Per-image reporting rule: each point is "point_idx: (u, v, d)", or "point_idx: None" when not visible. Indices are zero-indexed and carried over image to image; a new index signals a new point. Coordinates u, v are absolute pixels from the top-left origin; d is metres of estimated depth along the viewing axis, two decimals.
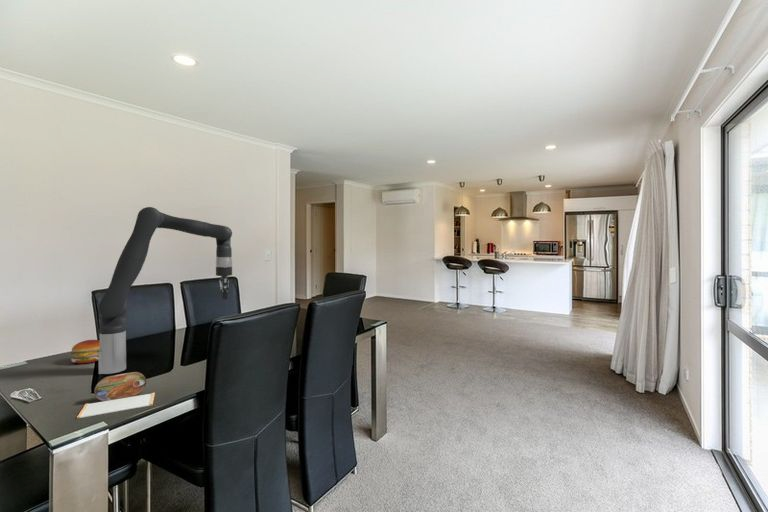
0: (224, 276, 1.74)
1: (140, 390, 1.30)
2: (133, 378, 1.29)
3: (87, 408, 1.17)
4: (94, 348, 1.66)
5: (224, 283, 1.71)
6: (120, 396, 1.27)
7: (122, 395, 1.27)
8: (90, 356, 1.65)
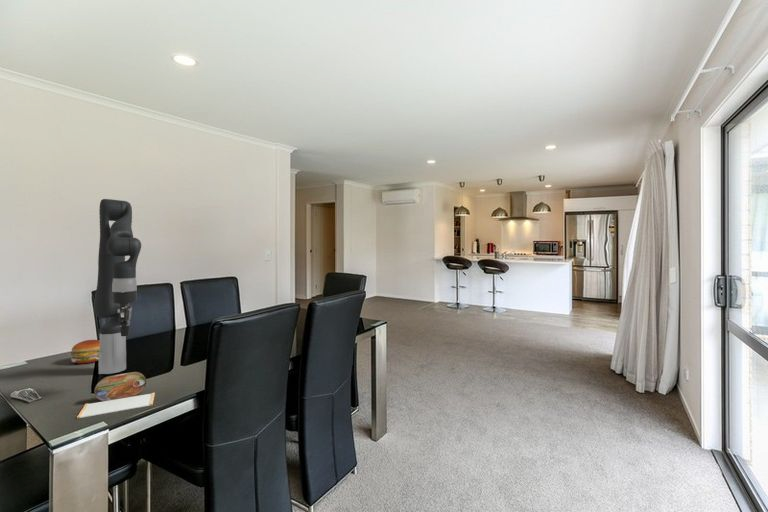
0: (122, 304, 1.30)
1: (140, 390, 1.30)
2: (133, 378, 1.29)
3: (87, 408, 1.17)
4: (94, 348, 1.66)
5: (121, 318, 1.29)
6: (120, 396, 1.27)
7: (122, 395, 1.27)
8: (90, 356, 1.65)
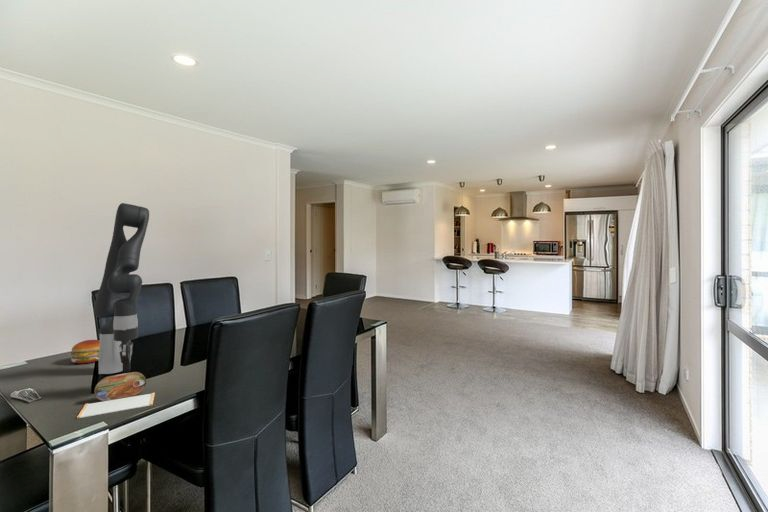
0: (124, 342, 1.31)
1: (140, 390, 1.30)
2: (133, 378, 1.29)
3: (87, 408, 1.17)
4: (94, 348, 1.66)
5: (122, 357, 1.30)
6: (120, 396, 1.27)
7: (122, 395, 1.27)
8: (90, 356, 1.65)
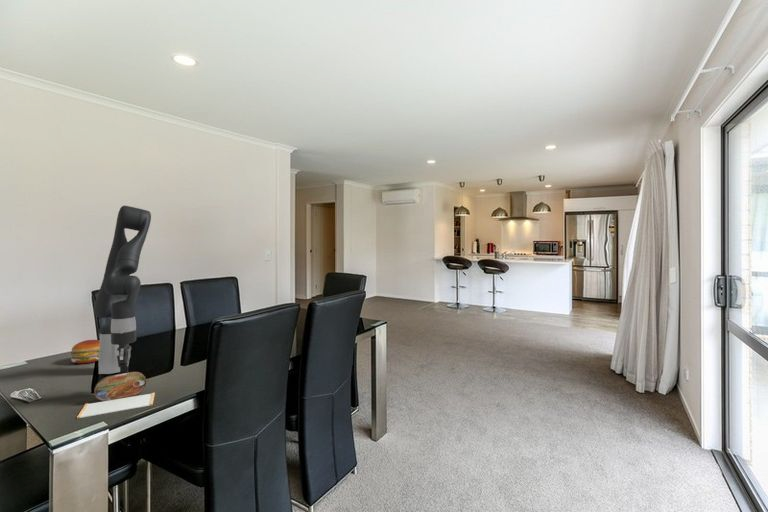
0: (121, 345, 1.27)
1: (140, 390, 1.30)
2: (133, 378, 1.29)
3: (87, 408, 1.17)
4: (94, 348, 1.66)
5: (120, 361, 1.25)
6: (120, 396, 1.27)
7: (122, 394, 1.27)
8: (90, 356, 1.65)
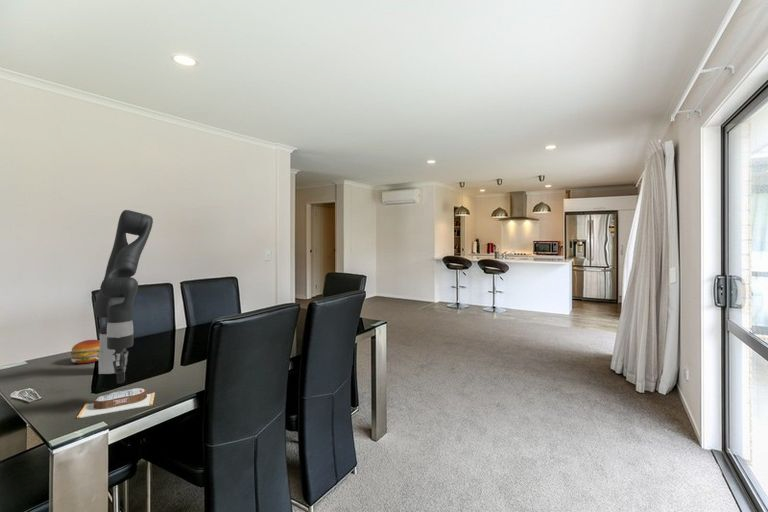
0: (118, 350, 1.21)
1: None
2: None
3: (87, 408, 1.17)
4: (94, 348, 1.66)
5: (116, 367, 1.20)
6: None
7: None
8: (90, 356, 1.65)
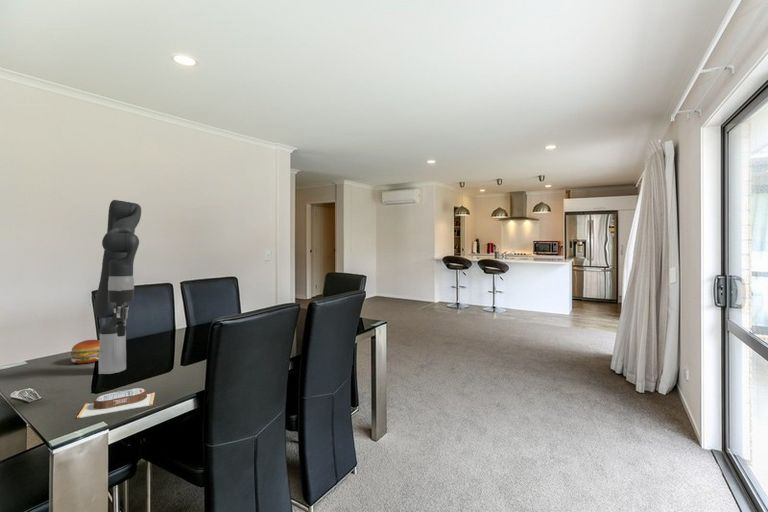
0: (119, 303, 1.24)
1: None
2: None
3: (87, 408, 1.17)
4: (94, 348, 1.66)
5: (117, 319, 1.23)
6: None
7: None
8: (90, 356, 1.65)
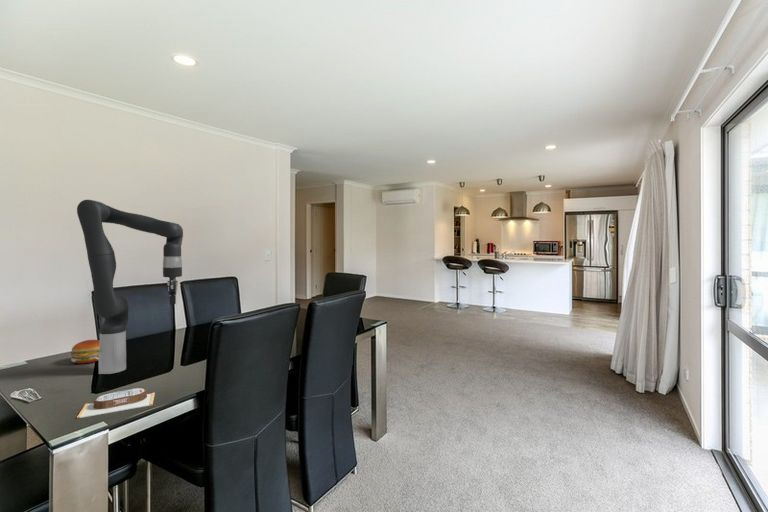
0: (171, 277, 1.57)
1: None
2: None
3: (87, 408, 1.17)
4: (94, 348, 1.66)
5: (171, 290, 1.56)
6: None
7: None
8: (90, 356, 1.65)
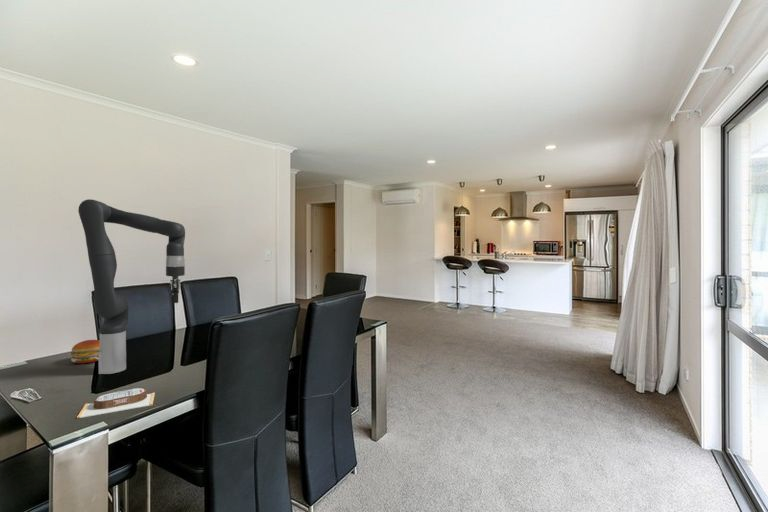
0: (174, 276, 1.60)
1: None
2: None
3: (87, 408, 1.17)
4: (94, 348, 1.66)
5: (174, 288, 1.59)
6: None
7: None
8: (90, 356, 1.65)
